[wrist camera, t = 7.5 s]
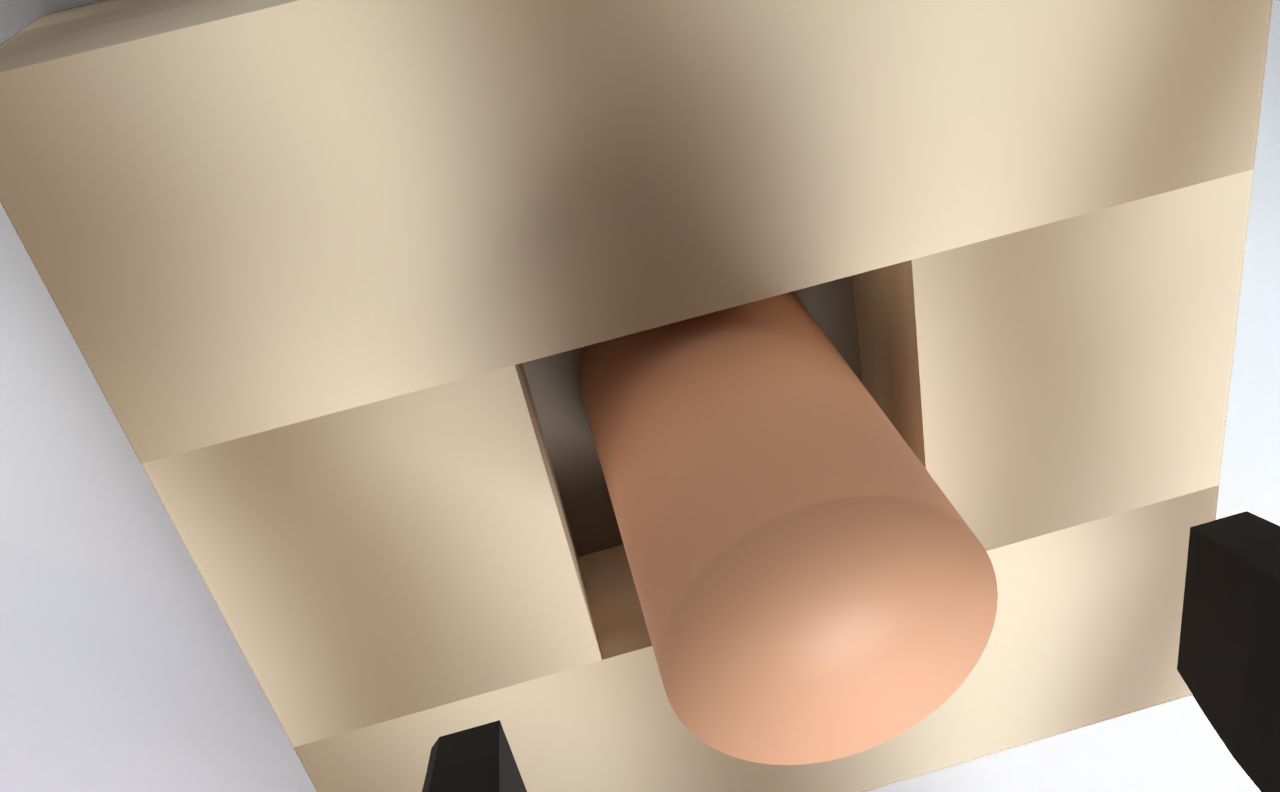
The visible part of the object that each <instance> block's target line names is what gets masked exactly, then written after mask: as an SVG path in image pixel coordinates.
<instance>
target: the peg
mask: <svg viewBox="0 0 1280 792" xmlns="http://www.w3.org/2000/svg"><path fill="white" fill-rule="evenodd" d="M580 388H581V394H582V399H583V403H584V406H585V410H586V413H587V417H588V420H589V424H590V428H591V431H592V435H593V438H594V442H595V445H596V449H597V452H598V456H599V459H600V463H601V466H602V470H603V474H604V477H605V481H606V484H607V488H608V491H609V495H610V498H611V502H612V505H613V509H614V512H615V516H616V519H617V523H618V527H619V530H620V534H621V537H622V541H623V544H624V548H625V551H626V555H627V558H628V562H629V565H630V569H631V573H632V576H633V580H634V583H635V587H636V590H637V594H638V597H639V601H640V604H641V608H642V611H643V615H644V619H645V622H646V626H647V629H648V633H649V636H650V640H651V643H652V647H653V650H654V654H655V657H656V661H657V664H658V668H659V672H660V675H661V679H662V682H663V686H664V689H665V692H666V695H667V697H668V700H669V703H670V705H671V707H672V708H673V710H674V712H675V714H676V715H677V717H678V718H679V720H680V721H681V722H682V723H683V724H684V726H685V727H686V728H687V729H688V730H689V731H690V732H691V733H692V734H694V735H695V736H696V737H697V738H698V739H700V740H701V741H702V742H704V743H706V744H707V745H709V746H711V747H712V748H714V749H716V750H718V751H720V752H722V753H725V754H727V755H730V756H732V757H735V758H739V759H743V760H746V761H750V762H756V763H763V764H771V765H802V764H812V763H819V762H826V761H831V760H835V759H839V758H843V757H847V756H851V755H853V754H856V753H859V752H862V751H865V750H868V749H871V748H873V747H875V746H877V745H880V744H882V743H884V742H887V741H889V740H890V739H892V738H894V737H896V736H898V735H900V734H902V733H903V732H905V731H907V730H908V729H910V728H911V727H913V726H914V725H916V724H917V723H919V722H921V721H922V720H924V719H925V718H926V717H927V716H929V715H930V714H931V713H932V712H934V711H935V710H936V709H937V708H939V707H940V706H941V705H942V704H943V703H944V702H945V701H946V700H947V699H948V698H949V697H950V696H951V695H952V694H953V693H954V692H955V691H956V690H957V689H958V688H959V687H960V685H961V684H962V683H963V682H964V681H965V679H966V678H967V677H968V676H969V674H970V673H971V671H972V670H973V668H974V667H975V665H976V664H977V662H978V661H979V659H980V657H981V655H982V653H983V651H984V649H985V647H986V645H987V643H988V640H989V638H990V635H991V632H992V630H993V626H994V622H995V617H996V612H997V600H998V591H997V582H996V575H995V572H994V569H993V565H992V562H991V560H990V558H989V556H988V554H987V552H986V550H985V548H984V546H983V545H982V544H981V542H980V541H979V540H978V538H977V537H976V536H975V534H974V533H973V532H972V530H971V529H970V528H969V526H968V525H967V524H966V522H965V521H964V520H963V518H962V517H961V516H960V514H959V513H958V512H957V510H956V509H955V508H954V506H953V505H952V503H951V502H950V501H949V499H948V498H947V497H946V495H945V494H944V493H943V491H942V490H941V489H940V487H939V486H938V485H937V483H936V482H935V481H934V479H933V478H932V477H931V475H930V474H929V473H928V471H927V470H926V469H925V467H924V466H923V465H922V463H921V462H920V461H919V459H918V458H917V457H916V455H915V454H914V453H913V451H912V450H911V449H910V447H909V446H908V444H907V443H906V442H905V440H904V439H903V438H902V436H901V435H900V434H899V432H898V431H897V430H896V428H895V427H894V426H893V424H892V423H891V422H890V420H889V419H888V418H887V416H886V415H885V414H884V412H883V411H882V410H881V408H880V407H879V406H878V404H877V403H876V402H875V400H874V399H873V398H872V396H871V395H870V394H869V392H868V391H867V389H866V388H865V387H864V385H863V384H862V383H861V381H860V380H859V379H858V377H857V376H856V375H855V373H854V372H853V371H852V369H851V368H850V367H849V365H848V364H847V363H846V361H845V360H844V359H843V357H842V356H841V355H840V353H839V352H838V351H837V349H836V348H835V347H834V345H833V344H832V343H831V341H830V340H829V339H828V337H827V336H826V335H825V333H824V332H823V330H822V329H821V328H820V326H819V325H818V324H817V322H816V321H815V320H814V318H813V317H812V316H811V314H810V313H809V312H808V310H807V309H806V308H805V306H804V305H803V304H802V302H801V301H800V300H799V298H798V297H797V296H796V294H795V293H794V292H793V291H792V292H788V293H784V294H781V295H777V296H773V297H769V298H766V299H762V300H758V301H754V302H750V303H747V304H743V305H739V306H735V307H732V308H728V309H724V310H720V311H717V312H713V313H709V314H705V315H701V316H698V317H694V318H690V319H686V320H683V321H679V322H675V323H671V324H667V325H664V326H660V327H656V328H652V329H649V330H645V331H641V332H637V333H634V334H630V335H626V336H622V337H618V338H615V339H611V340H607V341H603V342H600V343H596V344H592V345H588V346H584V349H583V352H582V356H581V363H580Z"/></svg>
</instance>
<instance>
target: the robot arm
mask: <svg viewBox="0 0 1280 792" xmlns="http://www.w3.org/2000/svg"><path fill="white" fill-rule="evenodd" d="M1177 671H1178V672H1179V674H1180V675H1181V677H1182V678H1183V680H1184V682H1185V683H1186V685H1187V686H1188V688H1189V690H1190V691H1191V693H1192V694H1193V696H1194V698H1195V699H1196V701H1197V702H1198V704H1199V706H1200V707H1201V709H1202V710H1203V712H1204V714H1205V715H1206V717H1207V718H1208V720H1209V721H1210V723H1211V724H1212V726H1213V727H1214V729H1215V730H1216V732H1217V733H1218V735H1219V736H1220V738H1221V739H1222V741H1223V742H1224V744H1225V745H1226V747H1227V748H1228V750H1229V751H1230V753H1231V754H1232V756H1233V757H1234V758H1235V760H1236V761H1237V762H1238V763H1239V765H1240V766H1241V767H1242V768H1243V770H1244V771H1245V772H1246V773H1247V775H1248V776H1249V777H1250V778H1251V779H1252V781H1253V782H1254V783H1255V784H1256V786H1257V787H1258V788H1259V789H1260V790H1261V792H1280V526H1278V525H1275V524H1273V523H1271V522H1269V521H1267V520H1264V519H1262V518H1260V517H1258V516H1256V515H1253V514H1251V513H1249V512H1243V513H1240V514H1236V515H1232V516H1229V517H1225V518H1222V519H1218V520H1215V521H1211V522H1207V523H1204V524H1200V525H1197V526H1193V527H1190V536H1189V546H1188V557H1187V567H1186V578H1185V589H1184V599H1183V610H1182V621H1181V631H1180V642H1179V653H1178V663H1177ZM422 792H527V790H526V788H525V785H524V783H523V780H522V777H521V775H520V772H519V769H518V767H517V764H516V762H515V759H514V756H513V754H512V751H511V748H510V746H509V743H508V740H507V738H506V735H505V733H504V730H503V727H502V725H501V722H500V720H498V721H495V722H491V723H488V724H484V725H480V726H477V727H473V728H470V729H466V730H463V731H459V732H455V733H452V734H448V735H445V736H441V737H439V738H438V740H437V741H436V742H435V744H434V745H433V746H432V748H431V752H430V757H429V762H428V767H427V772H426V777H425V781H424V785H423V789H422Z"/></svg>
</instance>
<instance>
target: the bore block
mask: <svg viewBox="0 0 1280 792" xmlns="http://www.w3.org/2000/svg"><path fill="white" fill-rule="evenodd" d="M1271 7H1272V0H107V1H102V2H98V3H94V4H90V5H86V6H81V7H77V8H73V9H69V10H65V11H60V12H56V13H52V14H48V15H44V16H41V17H40V18H38V19H37V20H35V21H34V22H32V23H31V24H30V25H28V26H27V27H25V28H24V29H22V30H21V31H19V32H18V33H17V34H15V35H14V36H12V37H11V38H9V39H8V40H6V41H5V42H4V43H2V44H1V45H0V202H1V204H2V206H3V207H4V209H5V211H6V213H7V215H8V217H9V219H10V221H11V222H12V224H13V226H14V228H15V230H16V232H17V234H18V235H19V237H20V239H21V241H22V243H23V245H24V247H25V248H26V250H27V252H28V254H29V256H30V258H31V260H32V261H33V263H34V265H35V267H36V269H37V271H38V273H39V275H40V276H41V278H42V280H43V282H44V284H45V286H46V288H47V289H48V291H49V293H50V295H51V297H52V299H53V301H54V302H55V304H56V306H57V308H58V310H59V312H60V314H61V315H62V317H63V319H64V321H65V323H66V325H67V327H68V329H69V330H70V332H71V334H72V336H73V338H74V340H75V342H76V343H77V345H78V347H79V349H80V351H81V353H82V355H83V356H84V358H85V360H86V362H87V364H88V366H89V368H90V369H91V371H92V373H93V375H94V377H95V379H96V381H97V383H98V384H99V386H100V388H101V390H102V392H103V394H104V396H105V397H106V399H107V401H108V403H109V405H110V407H111V409H112V410H113V412H114V414H115V416H116V418H117V420H118V422H119V423H120V425H121V427H122V429H123V431H124V433H125V435H126V436H127V438H128V440H129V442H130V444H131V446H132V448H133V450H134V451H135V453H136V455H137V457H138V459H139V461H140V463H141V464H142V466H143V468H144V470H145V472H146V474H147V476H148V477H149V479H150V481H151V483H152V485H153V487H154V489H155V490H156V492H157V494H158V496H159V498H160V500H161V502H162V504H163V505H164V507H165V509H166V511H167V513H168V515H169V517H170V518H171V520H172V522H173V524H174V526H175V528H176V530H177V531H178V533H179V535H180V537H181V539H182V541H183V543H184V544H185V546H186V548H187V550H188V552H189V554H190V556H191V558H192V559H193V561H194V563H195V565H196V567H197V569H198V571H199V572H200V574H201V576H202V578H203V580H204V582H205V584H206V585H207V587H208V589H209V591H210V593H211V595H212V597H213V598H214V600H215V602H216V604H217V606H218V608H219V610H220V611H221V613H222V615H223V617H224V619H225V621H226V623H227V625H228V626H229V628H230V630H231V632H232V634H233V636H234V638H235V639H236V641H237V643H238V645H239V647H240V649H241V651H242V652H243V654H244V656H245V658H246V660H247V662H248V664H249V665H250V667H251V669H252V671H253V673H254V675H255V677H256V679H257V680H258V682H259V684H260V686H261V688H262V690H263V692H264V693H265V695H266V697H267V699H268V701H269V703H270V705H271V706H272V708H273V710H274V712H275V714H276V716H277V718H278V719H279V721H280V723H281V725H282V727H283V729H284V731H285V733H286V734H287V736H288V738H289V740H290V742H291V744H292V746H293V747H294V749H295V751H296V753H297V755H298V757H299V759H300V760H301V762H302V764H303V766H304V768H305V770H306V772H307V773H308V775H309V777H310V779H311V781H312V783H313V785H314V787H315V788H316V790H317V792H422V789H423V785H424V781H425V777H426V772H427V767H428V762H429V757H430V752H431V748H432V746H433V745H434V744H435V742H436V741H437V740H438V738H439V737H441V736H445V735H448V734H452V733H455V732H459V731H463V730H466V729H470V728H473V727H477V726H480V725H484V724H488V723H491V722H495V721H498V720H500V722H501V725H502V727H503V730H504V733H505V735H506V738H507V740H508V743H509V746H510V748H511V751H512V754H513V756H514V759H515V762H516V764H517V767H518V769H519V772H520V775H521V777H522V780H523V783H524V785H525V788H526V790H527V792H865V791H868V790H872V789H875V788H879V787H882V786H885V785H889V784H892V783H896V782H899V781H902V780H906V779H909V778H912V777H916V776H919V775H923V774H926V773H929V772H933V771H936V770H940V769H943V768H946V767H950V766H953V765H956V764H960V763H963V762H967V761H970V760H973V759H977V758H980V757H984V756H987V755H990V754H994V753H997V752H1000V751H1004V750H1007V749H1011V748H1014V747H1017V746H1021V745H1024V744H1028V743H1031V742H1034V741H1038V740H1041V739H1044V738H1048V737H1051V736H1055V735H1058V734H1061V733H1065V732H1068V731H1071V730H1075V729H1078V728H1082V727H1085V726H1088V725H1092V724H1095V723H1099V722H1102V721H1105V720H1109V719H1112V718H1115V717H1119V716H1122V715H1126V714H1129V713H1132V712H1136V711H1139V710H1143V709H1146V708H1149V707H1153V706H1156V705H1159V704H1163V703H1166V702H1170V701H1173V700H1176V699H1180V698H1183V697H1187V696H1190V695H1193V694H1192V693H1191V691H1190V690H1189V688H1188V686H1187V685H1186V683H1185V682H1184V680H1183V678H1182V677H1181V675H1180V674H1179V672H1178V671H1177V663H1178V653H1179V642H1180V631H1181V621H1182V610H1183V599H1184V589H1185V578H1186V567H1187V557H1188V546H1189V536H1190V527H1193V526H1197V525H1200V524H1204V523H1207V522H1211V521H1215V518H1216V509H1217V500H1218V490H1219V481H1220V472H1221V463H1222V454H1223V445H1224V436H1225V427H1226V418H1227V408H1228V399H1229V390H1230V381H1231V372H1232V363H1233V354H1234V345H1235V335H1236V326H1237V317H1238V308H1239V299H1240V290H1241V281H1242V272H1243V263H1244V253H1245V244H1246V235H1247V226H1248V217H1249V208H1250V199H1251V190H1252V180H1253V171H1254V162H1255V153H1256V144H1257V135H1258V126H1259V117H1260V108H1261V98H1262V89H1263V80H1264V71H1265V62H1266V53H1267V44H1268V35H1269V26H1270V16H1271ZM792 291H793V292H794V293H795V294H796V296H797V297H798V298H799V300H800V301H801V302H802V304H803V305H804V306H805V308H806V309H807V310H808V312H809V313H810V314H811V316H812V317H813V318H814V320H815V321H816V322H817V324H818V325H819V326H820V328H821V329H822V330H823V332H824V333H825V335H826V336H827V337H828V339H829V340H830V341H831V343H832V344H833V345H834V347H835V348H836V349H837V351H838V352H839V353H840V355H841V356H842V357H843V359H844V360H845V361H846V363H847V364H848V365H849V367H850V368H851V369H852V371H853V372H854V373H855V375H856V376H857V377H858V379H859V380H860V381H861V383H862V384H863V385H864V387H865V388H866V389H867V391H868V392H869V394H870V395H871V396H872V398H873V399H874V400H875V402H876V403H877V404H878V406H879V407H880V408H881V410H882V411H883V412H884V414H885V415H886V416H887V418H888V419H889V420H890V422H891V423H892V424H893V426H894V427H895V428H896V430H897V431H898V432H899V434H900V435H901V436H902V438H903V439H904V440H905V442H906V443H907V444H908V446H909V447H910V449H911V450H912V451H913V453H914V454H915V455H916V457H917V458H918V459H919V461H920V462H921V463H922V465H923V466H924V467H925V469H926V470H927V471H928V473H929V474H930V475H931V477H932V478H933V479H934V481H935V482H936V483H937V485H938V486H939V487H940V489H941V490H942V491H943V493H944V494H945V495H946V497H947V498H948V499H949V501H950V502H951V503H952V505H953V506H954V508H955V509H956V510H957V512H958V513H959V514H960V516H961V517H962V518H963V520H964V521H965V522H966V524H967V525H968V526H969V528H970V529H971V530H972V532H973V533H974V534H975V536H976V537H977V538H978V540H979V541H980V542H981V544H982V545H983V546H984V548H985V550H986V552H987V554H988V556H989V558H990V560H991V562H992V565H993V569H994V572H995V575H996V582H997V591H998V600H997V612H996V617H995V622H994V626H993V630H992V632H991V635H990V638H989V640H988V643H987V645H986V647H985V649H984V651H983V653H982V655H981V657H980V659H979V661H978V662H977V664H976V665H975V667H974V668H973V670H972V671H971V673H970V674H969V676H968V677H967V678H966V679H965V681H964V682H963V683H962V684H961V685H960V687H959V688H958V689H957V690H956V691H955V692H954V693H953V694H952V695H951V696H950V697H949V698H948V699H947V700H946V701H945V702H944V703H943V704H942V705H941V706H940V707H939V708H937V709H936V710H935V711H934V712H932V713H931V714H930V715H929V716H927V717H926V718H925V719H924V720H922V721H921V722H919V723H917V724H916V725H914V726H913V727H911V728H910V729H908V730H907V731H905V732H903V733H902V734H900V735H898V736H896V737H894V738H892V739H890V740H889V741H887V742H884V743H882V744H880V745H877V746H875V747H873V748H871V749H868V750H865V751H862V752H859V753H856V754H853V755H851V756H847V757H843V758H839V759H835V760H831V761H826V762H819V763H812V764H802V765H771V764H763V763H756V762H750V761H746V760H743V759H739V758H735V757H732V756H730V755H727V754H725V753H722V752H720V751H718V750H716V749H714V748H712V747H711V746H709V745H707V744H706V743H704V742H702V741H701V740H700V739H698V738H697V737H696V736H695V735H694V734H692V733H691V732H690V731H689V730H688V729H687V728H686V727H685V726H684V724H683V723H682V722H681V721H680V720H679V718H678V717H677V715H676V714H675V712H674V710H673V708H672V707H671V705H670V703H669V700H668V697H667V695H666V692H665V689H664V686H663V682H662V679H661V675H660V672H659V668H658V664H657V661H656V657H655V654H654V650H653V647H652V643H651V640H650V636H649V633H648V629H647V626H646V622H645V619H644V615H643V611H642V608H641V604H640V601H639V597H638V594H637V590H636V587H635V583H634V580H633V576H632V573H631V569H630V565H629V562H628V558H627V555H626V551H625V548H624V544H623V541H622V537H621V534H620V530H619V527H618V523H617V519H616V516H615V512H614V509H613V505H612V502H611V498H610V495H609V491H608V488H607V484H606V481H605V477H604V474H603V470H602V466H601V463H600V459H599V456H598V452H597V449H596V445H595V442H594V438H593V435H592V431H591V428H590V424H589V420H588V417H587V413H586V410H585V406H584V403H583V399H582V394H581V388H580V363H581V356H582V352H583V349H584V346H588V345H592V344H596V343H600V342H603V341H607V340H611V339H615V338H618V337H622V336H626V335H630V334H634V333H637V332H641V331H645V330H649V329H652V328H656V327H660V326H664V325H667V324H671V323H675V322H679V321H683V320H686V319H690V318H694V317H698V316H701V315H705V314H709V313H713V312H717V311H720V310H724V309H728V308H732V307H735V306H739V305H743V304H747V303H750V302H754V301H758V300H762V299H766V298H769V297H773V296H777V295H781V294H784V293H788V292H792Z"/></svg>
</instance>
